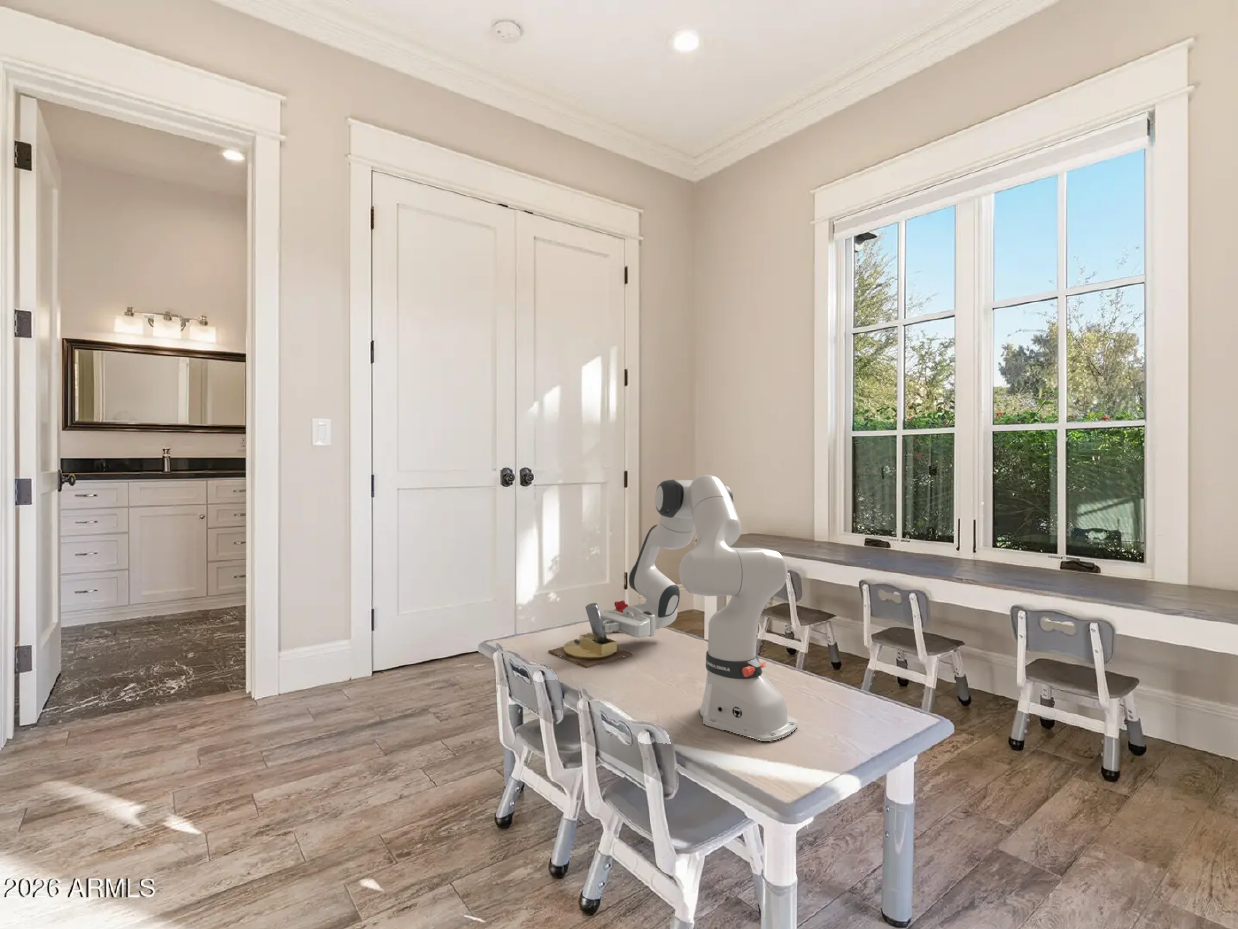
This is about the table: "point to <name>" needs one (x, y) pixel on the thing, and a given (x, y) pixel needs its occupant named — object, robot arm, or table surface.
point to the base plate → (590, 663)
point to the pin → (596, 623)
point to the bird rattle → (620, 606)
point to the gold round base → (590, 648)
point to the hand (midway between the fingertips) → (601, 627)
